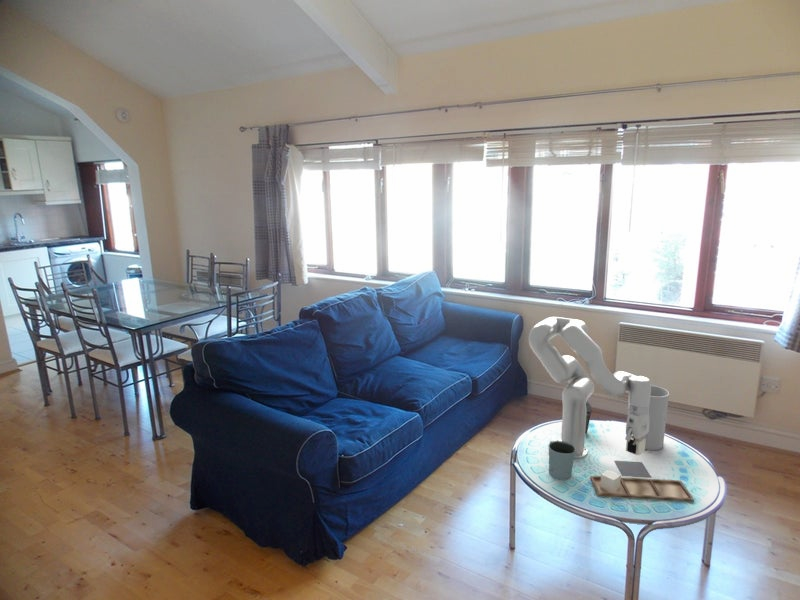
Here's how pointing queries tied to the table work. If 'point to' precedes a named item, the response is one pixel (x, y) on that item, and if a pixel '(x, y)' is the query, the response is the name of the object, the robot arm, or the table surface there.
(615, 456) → the table surface
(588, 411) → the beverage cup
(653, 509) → the table surface
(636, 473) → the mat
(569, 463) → the grey green pot
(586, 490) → the table surface
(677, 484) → the tray board
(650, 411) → the cylinder vase
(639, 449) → the letter block
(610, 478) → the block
